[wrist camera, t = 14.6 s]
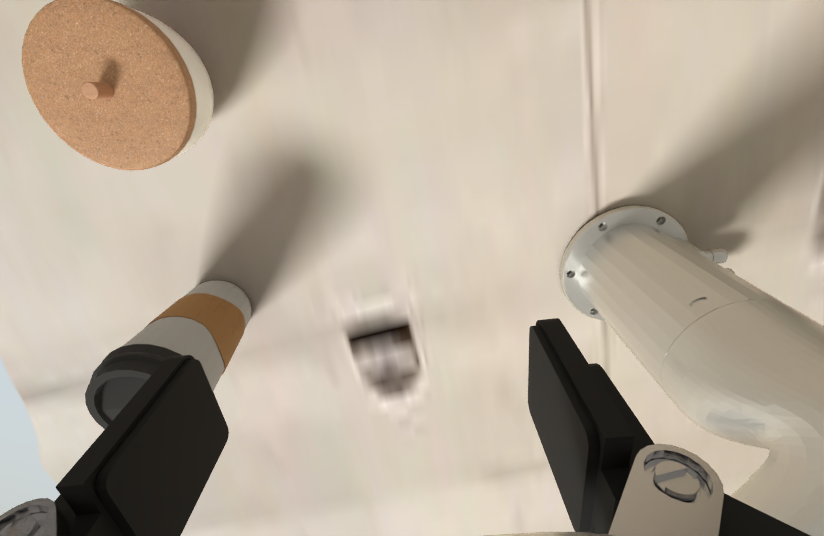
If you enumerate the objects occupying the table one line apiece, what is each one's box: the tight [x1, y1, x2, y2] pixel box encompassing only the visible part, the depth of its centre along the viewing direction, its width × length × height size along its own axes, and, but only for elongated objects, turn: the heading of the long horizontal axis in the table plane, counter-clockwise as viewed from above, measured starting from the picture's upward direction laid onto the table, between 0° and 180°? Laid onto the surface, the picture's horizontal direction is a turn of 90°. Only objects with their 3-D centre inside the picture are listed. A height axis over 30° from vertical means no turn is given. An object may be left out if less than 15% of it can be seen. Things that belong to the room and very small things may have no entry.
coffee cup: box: [85, 280, 251, 429], centre depth 36 cm, size 8×8×15 cm
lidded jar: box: [22, 0, 214, 170], centre depth 29 cm, size 11×11×9 cm
